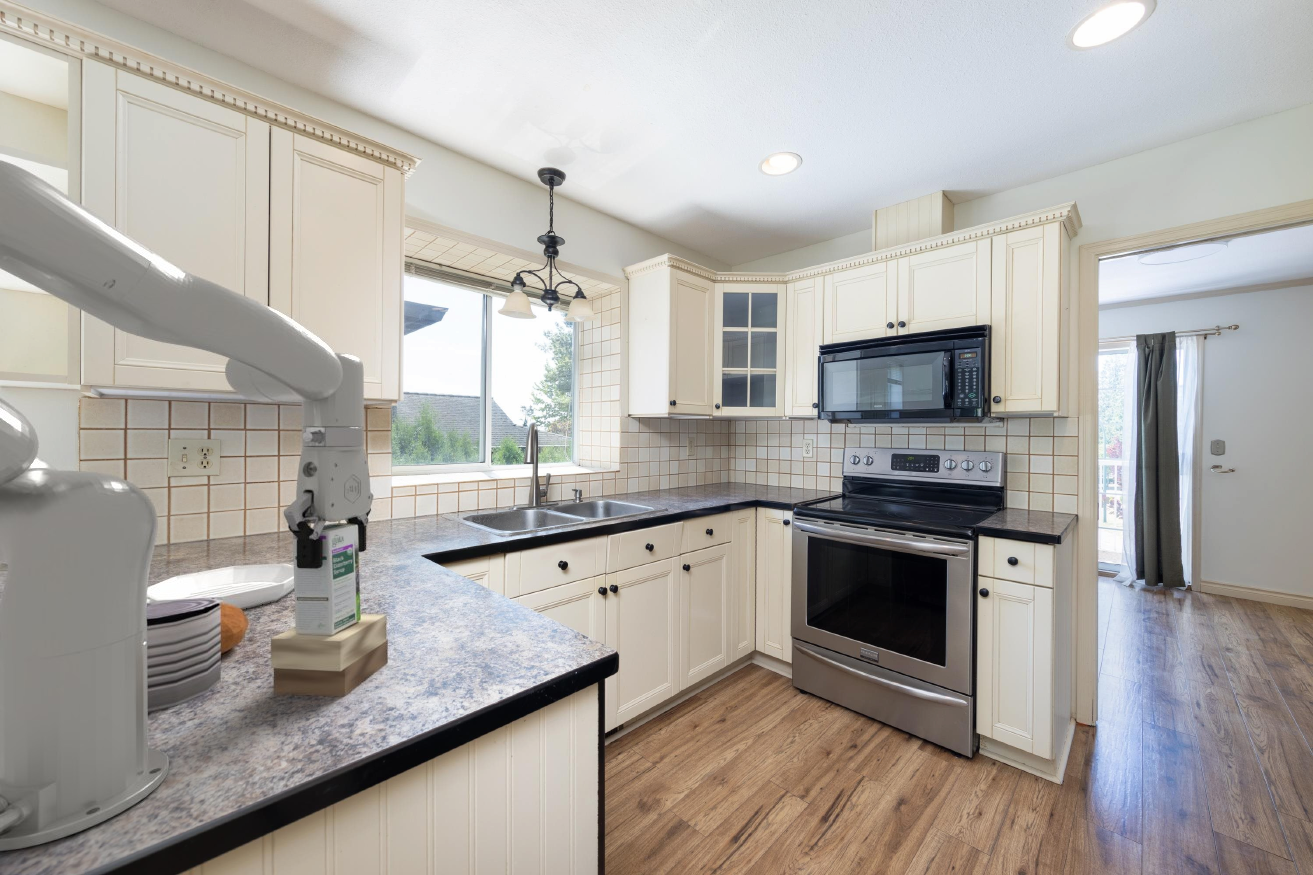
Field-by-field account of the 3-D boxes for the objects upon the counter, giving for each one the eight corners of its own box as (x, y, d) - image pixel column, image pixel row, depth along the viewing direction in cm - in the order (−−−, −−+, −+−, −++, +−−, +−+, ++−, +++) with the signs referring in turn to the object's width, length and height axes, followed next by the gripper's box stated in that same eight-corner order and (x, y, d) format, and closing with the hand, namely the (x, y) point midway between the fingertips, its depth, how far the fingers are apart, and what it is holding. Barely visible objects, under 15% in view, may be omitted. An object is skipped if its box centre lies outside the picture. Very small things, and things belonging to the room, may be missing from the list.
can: (80, 721, 63) (79, 624, 63) (143, 678, 74) (142, 595, 74) (193, 707, 66) (193, 614, 66) (237, 668, 77) (237, 588, 77)
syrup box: (332, 636, 70) (330, 530, 70) (293, 634, 71) (291, 529, 70) (361, 621, 76) (360, 523, 75) (324, 619, 76) (323, 522, 76)
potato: (243, 635, 89) (243, 592, 89) (254, 655, 81) (254, 608, 81) (170, 651, 83) (170, 605, 83) (174, 674, 75) (174, 623, 75)
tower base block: (344, 698, 69) (344, 669, 69) (273, 696, 70) (273, 667, 70) (387, 665, 79) (387, 639, 79) (325, 663, 80) (325, 637, 79)
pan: (148, 637, 89) (148, 612, 89) (106, 609, 102) (106, 588, 102) (337, 590, 116) (337, 571, 116) (283, 573, 129) (283, 556, 129)
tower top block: (340, 671, 68) (340, 641, 68) (271, 667, 69) (270, 638, 69) (386, 640, 78) (386, 614, 78) (325, 638, 79) (325, 612, 79)
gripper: (316, 441, 65) (316, 576, 65) (392, 439, 82) (392, 546, 82) (259, 440, 65) (259, 575, 65) (347, 439, 82) (347, 545, 83)
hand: (333, 558), depth 74 cm, fingers open, 9 cm apart
